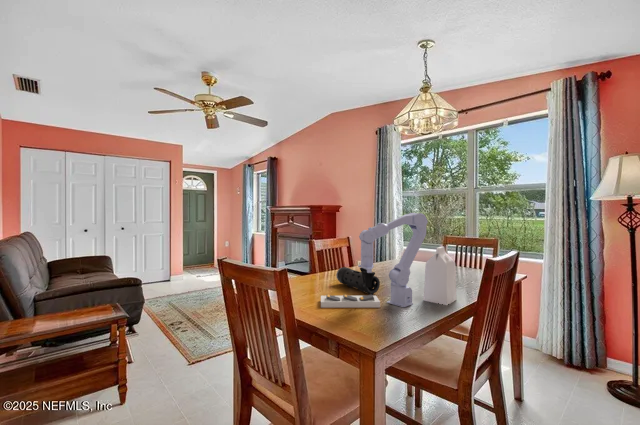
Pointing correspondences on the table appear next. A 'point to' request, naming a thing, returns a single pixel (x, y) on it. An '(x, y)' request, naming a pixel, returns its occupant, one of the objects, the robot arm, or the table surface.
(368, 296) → the rocker
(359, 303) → the switch strip
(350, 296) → the middle rocker
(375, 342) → the table surface
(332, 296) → the rocker
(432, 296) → the milk
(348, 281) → the black foam roller
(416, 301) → the table surface
